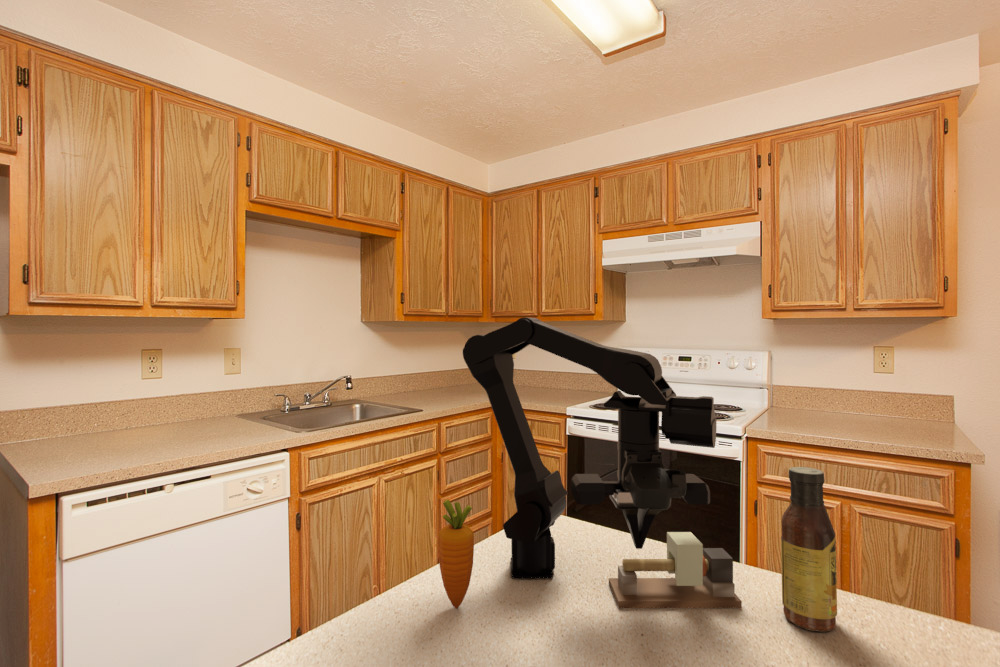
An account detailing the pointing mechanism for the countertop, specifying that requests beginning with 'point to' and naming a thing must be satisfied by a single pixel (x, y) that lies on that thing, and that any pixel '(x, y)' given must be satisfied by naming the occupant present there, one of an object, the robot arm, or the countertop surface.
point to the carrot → (456, 553)
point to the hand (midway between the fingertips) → (638, 547)
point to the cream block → (686, 558)
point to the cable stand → (666, 592)
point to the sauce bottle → (808, 554)
